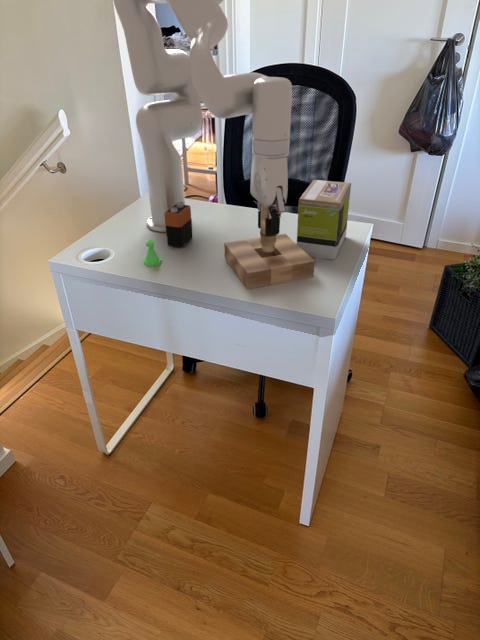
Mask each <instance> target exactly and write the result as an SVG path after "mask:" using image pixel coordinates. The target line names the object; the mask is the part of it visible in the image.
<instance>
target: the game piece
mask: <svg viewBox="0 0 480 640" xmlns="http://www.w3.org/2000/svg"><path fill="white" fill-rule="evenodd" d="M155 242H156V241H155V240H152V239H147V240H146V241H145V247H146V248H148V249H147V252H146V256H145V257H144V259H143V265H145V266H146V267H157V266H159V265H161V263H162V258H161V257H160V256H159V255H158V254H157V252H156V249H154V247H156V245H155V244H156V243H155Z"/></svg>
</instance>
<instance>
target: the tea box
mask: <svg viewBox="0 0 480 640" xmlns="http://www.w3.org/2000/svg"><path fill="white" fill-rule="evenodd" d="M351 189H352V182H343V181H331V180H322V179H321V180H320V179H313V180H312V181H311V183H310V184H309V185H308V187H307V188H306V189H305V191H304V192H303V193H302V195H301V196H300V197H299V199H298V206H297V207H298V209H297V214H298V215H297V231H296V244H297V245H298V246H299V247H300V248H301V249H302V250H304V251H305V252H306V253H307V254H308V255H309V256H310V257H311V258H318V259H323V260H331V261H332V260H333V261H334V260H336V258H337V255H338V253H339V251H340V250H341V247H342V245H343V243H344V241H345V238H346V236H347V229H348V219H349V209H350V199H351V191H352V190H351Z"/></svg>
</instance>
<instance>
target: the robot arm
mask: <svg viewBox="0 0 480 640" xmlns="http://www.w3.org/2000/svg"><path fill="white" fill-rule="evenodd" d="M112 1H113V4H114V8H115V10H116V13H117V16H118V18H119V21H120V24H121V27H122V30H123V33H124V37H125V42H126V48H127V49H126V50H127V54H128V58H129V64H130V68H131V73H132V78H133V81H134V86H135V87H136V89H137V92H139V93H140V94H141V95H143V96H147V97H152V96H153V97H155V96H162V95H170V94H171V96H172V99H167V100H160V101H153V102H149V103H146V104H144V105H143V106H141V107H140V108H139V109H138V111H137V113H136V116H135V125H136V129H137V133H138V135H139V138H140V142H141V146H142V150H143V157H144V166H145V172H146V179H147V181H146V182H147V187H148V196H149V204H150V205H149V206H150V213H151V216H149V217H148V218H147V220H146V226H147V227H148V229H150V230H152V231H154V232H160V233H166V225H165V215H164V213H165V212H166V211H167V210H169V209H170V208H171V207H173V206H174V205H175V204H176V203H177V202H184V205H186V200H185V198H186V197H185V187H184V186H185V185H184V174H183V163H182V157H181V154H180V152H179V151H178V149H177V148H176V147H175V145H174V144H173V142H175V141H177V140H183V139H187V138H191V137H194V136H196V135H197V134H199V132H200V131H201V129H202V126H203V112H202V111H203V110H202V105H201V101H202V103H203V104H204V106H205V107H206V109H207V111H209V113H210V114H212V115H213V116H214V117H216V118H218V119H225V120H226V119H231V118H236V117H240V116H247V115H252V119H251V120H252V126H251V127H252V128H251V129H252V130H251V131H252V137H251V138H252V139H251V140H252V141H251V142H252V143H251V146H252V149H251V150H252V151H251V152H252V153H251V154H252V160H251V171H250V191H249V192H250V194H251V196H252V197H253V198H255V200H256V201H257V227H258V228H259V229H261V204H262V205H263V206H265V207H267V218H266V219H265V235H266V236H270V235H280V228H281V227H280V226H281V218H282V214H283V213H285V204H287V199H288V190H289V189H288V187H289V186H288V185H289V184H288V183H289V181H288V180H289V176H288V170H289V169H288V156H289V155H290V144H291V141H290V139H291V123H292V122H291V121H292V120H291V119H292V103H293V102H292V101H293V100H292V98H293V86H292V85H293V84H292V82H291V81H290V80H289V79H288V78H286V77H279V76H268V75H266V74H262V73H259V72H243V73H237V74H236V73H235V74H227V75H223V74H222V72H221V71H220V69H219V68H218V66H217V64H216V62H215V60H214V58H213V54H212V52H211V51H212V49H213V48H215V47H216V46H217V45H218V44H219V43H220V42H221V41H222V40H223V38H224V36H225V35H226V33H227V30H228V25H229V22H228V19H227V16H226V15H225V13H224V11H223V9H222V8H221V6H220V4H222V3H223V1H224V0H112ZM148 4H168V5H169V6H170V9H171V10H172V12H173V14H174V16H175V17H176V19H177V21H178V23H179V24H180V27H181V28H182V29H183V31H184V33H185V35H186V37H187V38H188V40H189V42H190V50H189V52H188V53H189V54H188V53H187V52H186V51H184V50H181V49H177V48H176V49H173V48H171V49H166V48H165V44H164V39H163V33H162V28H161V25H160V23H159V22H158V20H157V18H156V16H155V15H154V14H153V12H152V11H151V9H149V8H148ZM273 201H276V203H273ZM271 207H276V208H275V209H273V210H272V211H271ZM191 222H192V223H193V221H192V218H191Z"/></svg>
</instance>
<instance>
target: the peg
mask: <svg viewBox="0 0 480 640" xmlns="http://www.w3.org/2000/svg"><path fill="white" fill-rule="evenodd" d="M273 203H276V201H273ZM275 208H276V207H271V211H272V210H273V209H275ZM266 218H267V207H265V206H263V205H262V204H261V229H260V228H259V229H260V230H259V236H260V237H259V238H260V242H261V243H262V247H261V250H262V251H263V252H273V251H274V249H275V243H276V235H270V236H266V235H265V219H266Z"/></svg>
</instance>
